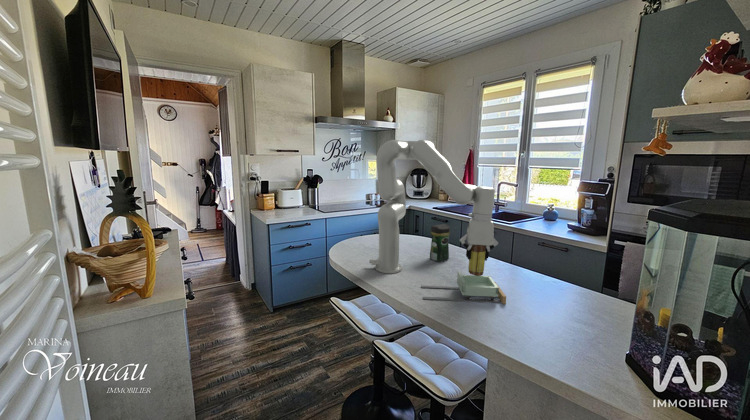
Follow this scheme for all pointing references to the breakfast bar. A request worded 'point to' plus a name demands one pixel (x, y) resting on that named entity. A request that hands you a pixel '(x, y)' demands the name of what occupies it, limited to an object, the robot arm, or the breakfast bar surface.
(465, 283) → the cart
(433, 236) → the coffee jar
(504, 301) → the track
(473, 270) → the sauce bottle
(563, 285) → the breakfast bar surface
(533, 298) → the breakfast bar surface
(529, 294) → the breakfast bar surface
